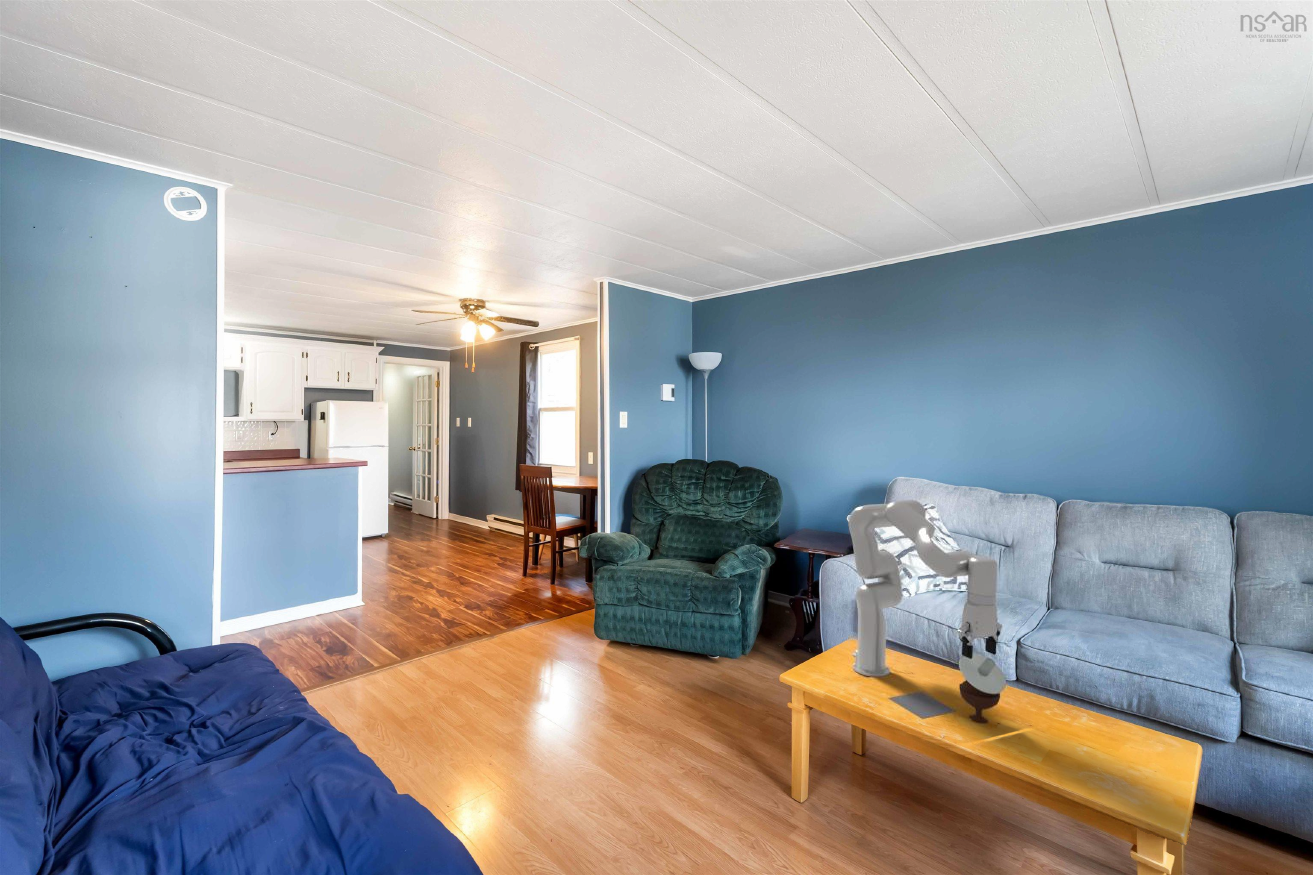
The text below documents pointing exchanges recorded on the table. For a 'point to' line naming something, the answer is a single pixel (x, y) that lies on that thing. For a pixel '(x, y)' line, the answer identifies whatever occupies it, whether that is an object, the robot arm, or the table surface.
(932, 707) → the mat
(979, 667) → the lid
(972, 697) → the ice cream bowl
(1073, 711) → the table surface
